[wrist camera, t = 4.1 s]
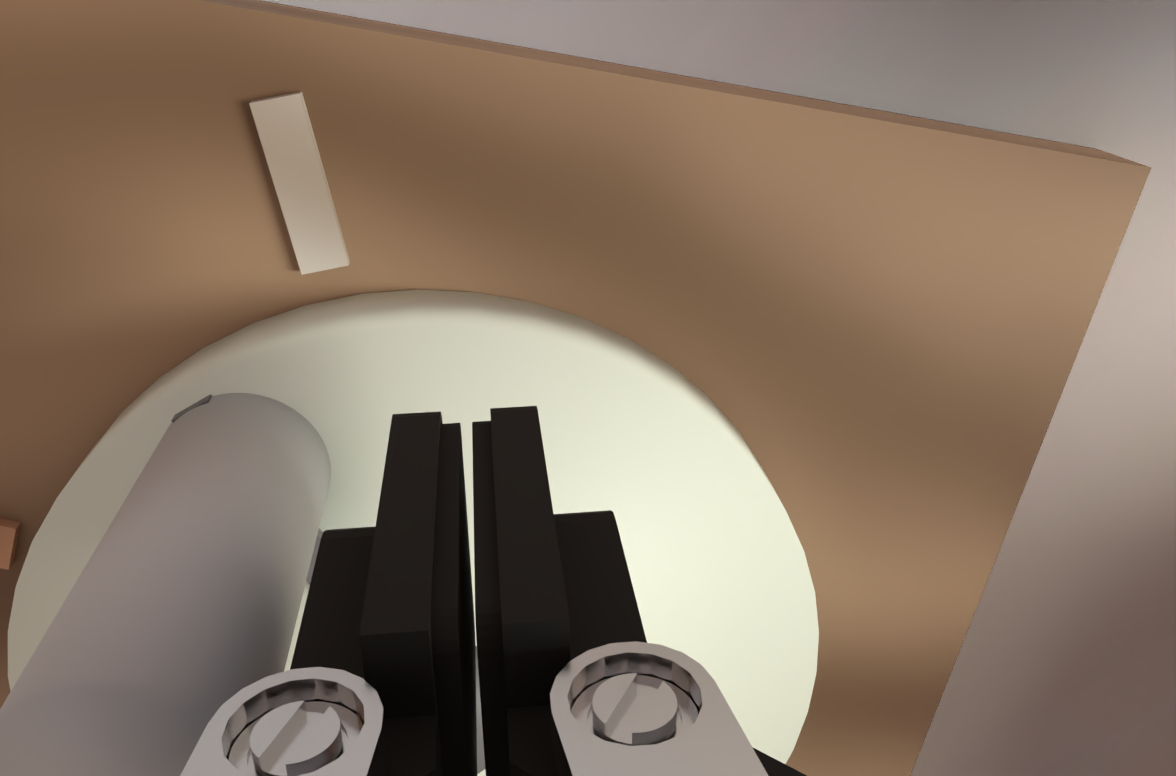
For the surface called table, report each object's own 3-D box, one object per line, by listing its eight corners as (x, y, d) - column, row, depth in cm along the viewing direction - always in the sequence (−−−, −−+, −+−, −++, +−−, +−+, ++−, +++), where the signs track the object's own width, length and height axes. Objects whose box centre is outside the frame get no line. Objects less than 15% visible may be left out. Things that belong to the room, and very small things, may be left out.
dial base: (795, 956, 25) (817, 1023, 23) (-91, 936, 22) (-134, 1013, 20) (1097, 148, 17) (1158, 170, 16) (-211, -83, 14) (-295, -85, 12)
